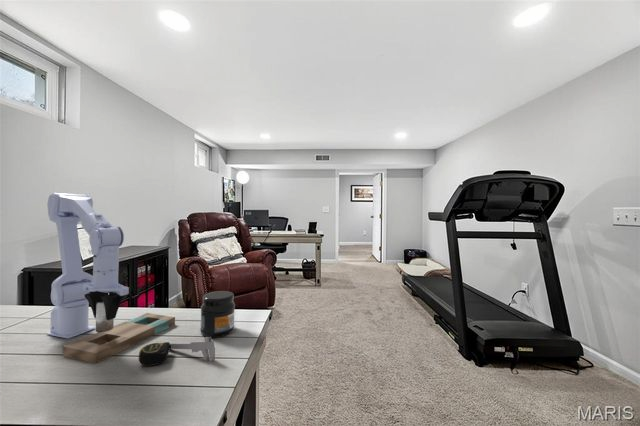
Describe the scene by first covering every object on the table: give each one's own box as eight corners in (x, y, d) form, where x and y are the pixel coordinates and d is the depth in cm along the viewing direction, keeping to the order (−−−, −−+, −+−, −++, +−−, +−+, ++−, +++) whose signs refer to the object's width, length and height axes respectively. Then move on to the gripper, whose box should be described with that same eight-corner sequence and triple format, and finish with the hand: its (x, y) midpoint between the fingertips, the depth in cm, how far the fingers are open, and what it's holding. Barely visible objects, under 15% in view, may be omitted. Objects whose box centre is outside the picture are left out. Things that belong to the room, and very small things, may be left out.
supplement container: (239, 333, 91) (240, 296, 91) (205, 341, 84) (206, 302, 84) (228, 322, 99) (228, 288, 99) (196, 329, 93) (197, 293, 93)
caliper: (215, 361, 74) (215, 337, 74) (212, 363, 73) (212, 338, 73) (157, 346, 81) (158, 324, 81) (154, 348, 80) (154, 325, 80)
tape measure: (165, 366, 71) (166, 352, 71) (134, 370, 69) (135, 355, 69) (171, 353, 77) (171, 340, 77) (142, 356, 75) (143, 342, 75)
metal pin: (91, 331, 78) (92, 302, 78) (106, 325, 82) (107, 298, 81) (102, 333, 77) (103, 304, 77) (116, 327, 80) (117, 299, 80)
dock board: (62, 355, 74) (62, 346, 74) (147, 320, 99) (147, 312, 99) (96, 363, 71) (96, 353, 71) (174, 324, 96) (175, 317, 96)
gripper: (71, 270, 77) (70, 319, 77) (111, 275, 73) (110, 326, 73) (98, 265, 84) (97, 311, 84) (136, 269, 80) (134, 317, 80)
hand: (104, 317), depth 79 cm, fingers closed on metal pin, 4 cm apart
